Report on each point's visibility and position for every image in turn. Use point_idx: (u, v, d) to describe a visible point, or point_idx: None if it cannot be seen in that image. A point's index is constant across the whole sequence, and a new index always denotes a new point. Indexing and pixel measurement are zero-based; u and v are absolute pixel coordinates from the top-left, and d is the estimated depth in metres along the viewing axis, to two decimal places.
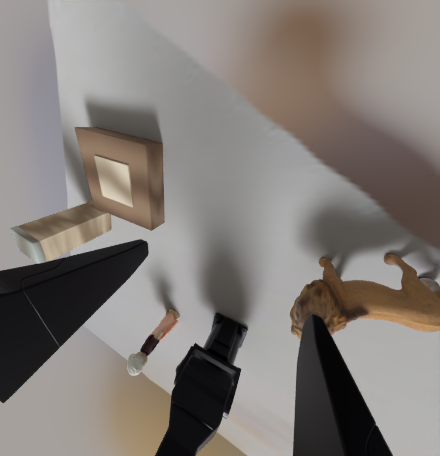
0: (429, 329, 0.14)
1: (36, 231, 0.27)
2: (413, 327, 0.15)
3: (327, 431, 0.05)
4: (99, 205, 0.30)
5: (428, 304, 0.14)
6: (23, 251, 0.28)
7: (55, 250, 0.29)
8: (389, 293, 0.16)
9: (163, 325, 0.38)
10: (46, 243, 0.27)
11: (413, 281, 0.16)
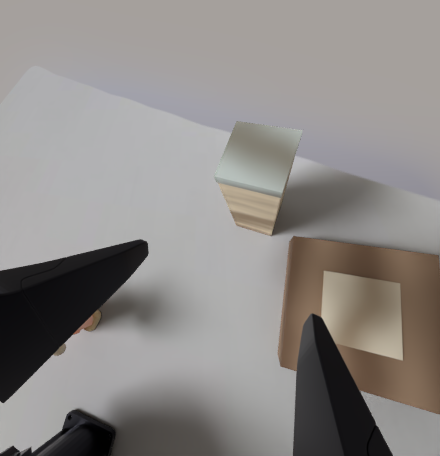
0: None
1: None
2: None
3: (327, 431, 0.05)
4: (300, 251, 0.19)
5: None
6: (240, 133, 0.13)
7: (239, 195, 0.14)
8: None
9: None
10: (266, 198, 0.13)
11: None
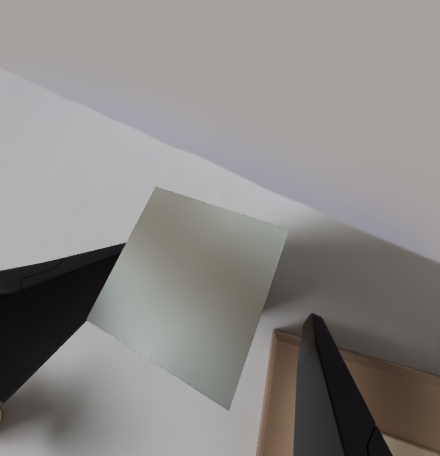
0: None
1: None
2: None
3: (327, 431, 0.05)
4: (287, 368, 0.12)
5: None
6: (157, 216, 0.06)
7: None
8: None
9: None
10: None
11: None
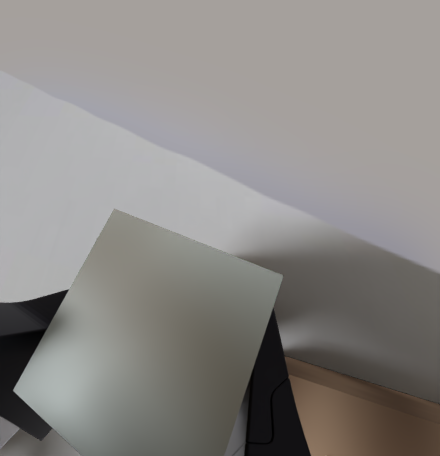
0: None
1: None
2: None
3: None
4: None
5: None
6: (113, 249, 0.05)
7: None
8: None
9: None
10: None
11: None
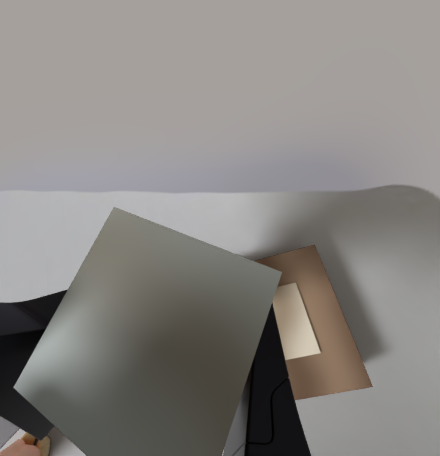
0: None
1: None
2: None
3: (246, 384, 0.05)
4: None
5: None
6: (113, 247, 0.05)
7: None
8: None
9: None
10: None
11: None
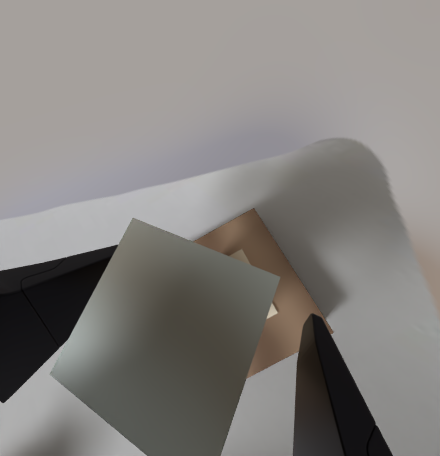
0: None
1: None
2: None
3: (327, 431, 0.05)
4: None
5: None
6: (133, 254, 0.05)
7: None
8: None
9: None
10: None
11: None
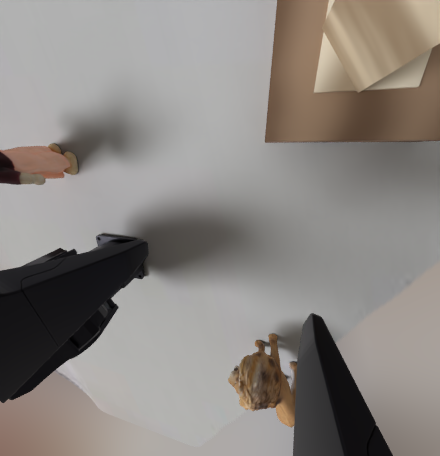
0: (286, 424, 0.23)
1: None
2: (281, 419, 0.23)
3: (327, 431, 0.05)
4: None
5: None
6: None
7: None
8: (291, 397, 0.23)
9: (43, 166, 0.19)
10: None
11: None
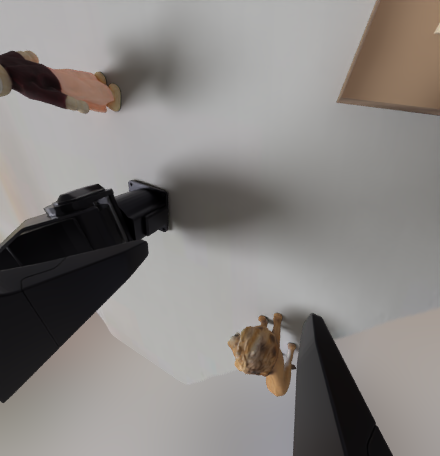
0: None
1: None
2: (270, 387, 0.24)
3: (327, 431, 0.05)
4: None
5: (286, 389, 0.24)
6: None
7: None
8: (283, 372, 0.24)
9: (88, 94, 0.18)
10: None
11: (290, 371, 0.26)
